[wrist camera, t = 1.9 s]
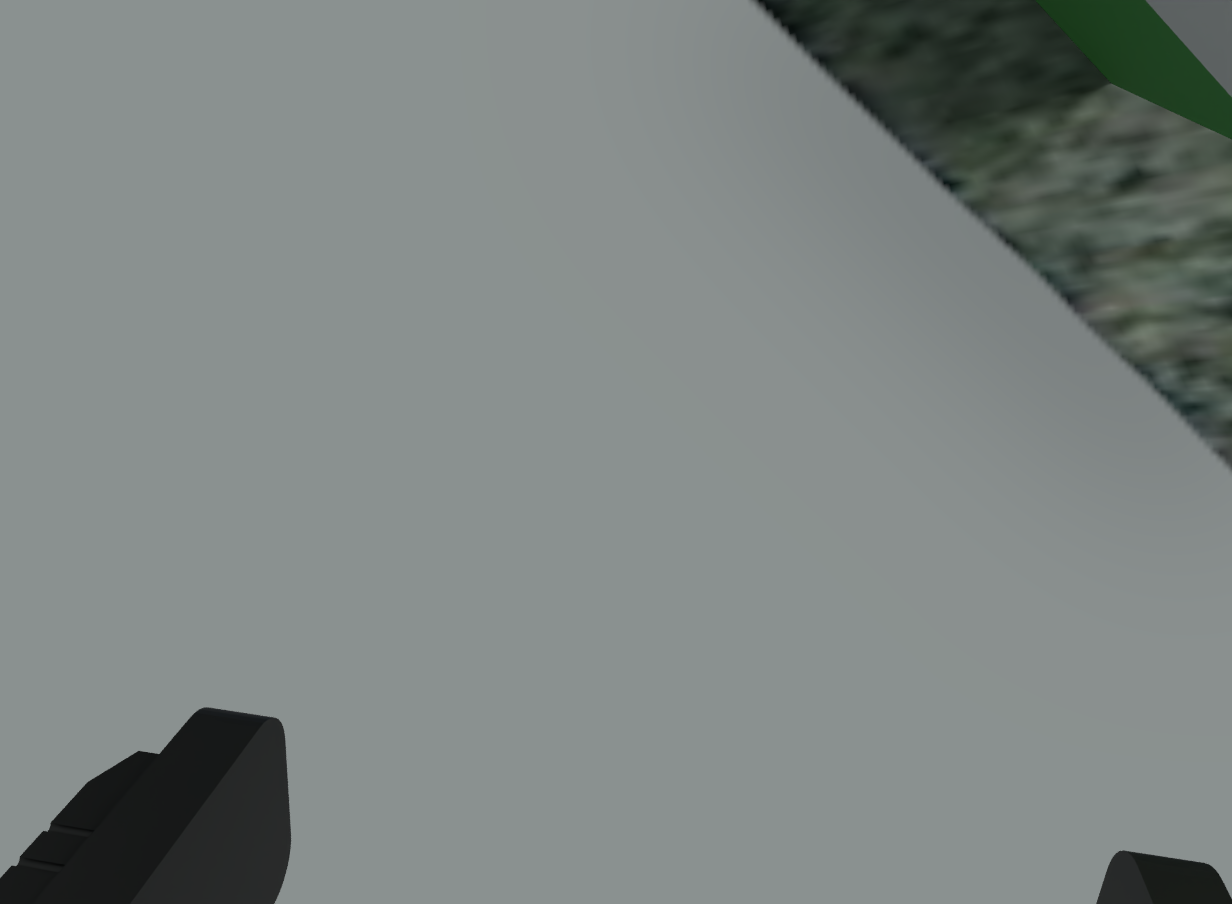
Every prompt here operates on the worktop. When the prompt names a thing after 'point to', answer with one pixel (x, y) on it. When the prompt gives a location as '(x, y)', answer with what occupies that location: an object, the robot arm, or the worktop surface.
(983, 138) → the worktop surface
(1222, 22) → the hardback book
